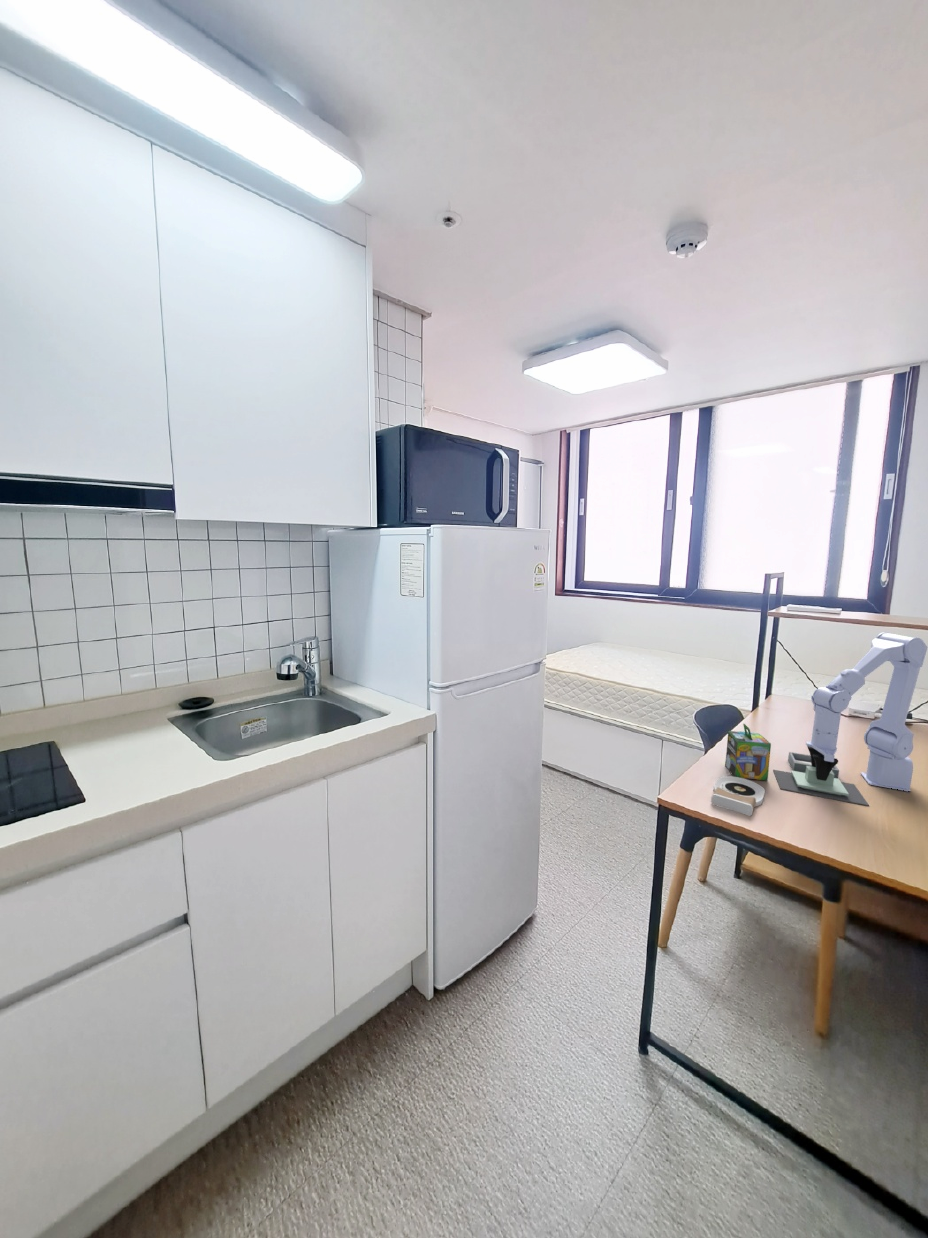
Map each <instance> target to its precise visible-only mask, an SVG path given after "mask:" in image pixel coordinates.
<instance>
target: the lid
mask: <svg viewBox="0 0 928 1238" xmlns="http://www.w3.org/2000/svg"><path fill="white" fill-rule="evenodd" d="M790 773H792V776H793V778H794V780H795V782H796V784H797V786H799V787H801V788H804V789H809V790H814V791H820V792H825V793H830V794H835V795H846V796H848V795H849V793H848V792H847V790H846V789H845V787H844V786H843V784H842V783H841V782H842V781H841V780H840V779H839V778H838V779H836V778H834V775H835V774H834V773H833V771H832V770H831V772H830V774H829V776H828V778H827V780H826V781H823V780H818V779H817V777H816V767H811V766H806V772H805V773H803V772H797V771H792V769H791V770H790Z"/></svg>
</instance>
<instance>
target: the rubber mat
mask: <svg viewBox="0 0 928 1238" xmlns="http://www.w3.org/2000/svg"><path fill="white" fill-rule="evenodd" d="M772 771H773V774H774V776H775V778H776V779H775V780H776V783H777V784H778V786H779V790H781V791H782V790H783V791H789V792H794V793H798V794H804V795H809V796H814V797H820V798H824V799H829V800H835V801H840V802H845V803H850V804H854V803H856V804H855V805H859V804H860V806H865V807H870V804H869V803H868V802H867V800H866V799H865V798H864V796H863V794H862V793H861V792H860V791H859V789H858V787H857V786H856V785H855V784H854V783H850V782H845V781H841V783H842V784H843V786H844V787H845V789H846V790H847V792H848V793H849V795H848V796H846V795H835V794H830V793H825V792H820V791H814V790H809V789H804V788H801V787H799V786H797V784H796V782H795V780H794V778H793V776H792V773H791V771H790V772H788V771H783V770H777V769H773V770H772Z"/></svg>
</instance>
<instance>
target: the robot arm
mask: <svg viewBox="0 0 928 1238" xmlns="http://www.w3.org/2000/svg"><path fill="white" fill-rule="evenodd" d="M927 650H928V645H927V644H926V643H925V641H924V640H923V639H922V638H920V637H913V636H907V635H901V634H895V633H890V632H886V631H884V632H881V633H879V634H877V636H876V637H875V638H874V639H872V640H871V646H870V649H869V651H868V652H867V653H866V654H865V655H864V656H863V657H862V658H861V659H860V660H859V661H858V662H857V663H856V665H854V667H853V668H852V669H850V668H849V669H843V670H842V671H841V672H840V673H839V674H837V676H835V678H834V679H833V680H831V681H830V682H829V683H828V684H827V685H826V686H821V687H819V688H817V689H815V690H814V692H813V694H812V695H811V697H810V699H811V703H812V704H813V710H814V719H813V726H812V733H811V739H810V741H806V742H805V745H806V747H807V749H808V752H809V755H810V756H811V764H812V767H816V777H817V779H818V780H823V781H826V780H827V778H828V776H829V774H830V772H831V770H832V768H833V767H834V766H835V765H837V764H838V763H839V760H838V758H836V757H835V754H836V753H837V751H838V750H837V749H838V748H837V745H838V744H837V743H838V737H839V729H840V723H841V716H842V712H844V711H845V710H846V709H848V706H849V704H850V701H851V700H852V697H853V696H854V694H856V693H857V692H858V691H859V690H860V689H861V688H862V687H864V685H866V679H865V678H866V677H867V676H869V675H870V674H872V672H874V671H876V670H877V669H878V668H879V667H881V665H883V664H884V663H886V662H890V664H892V666H893V671H892V674H891V677H890V682H889V684H888V685H889V687H888V689H887V693H886V696H885V701H884V705H883V708H882V711H881V715H880V718H878V719H875V720H873V721H871V722H869V726H868V728H867V729H866V731H865V732H864V734H863V742H864V744H865V745H866V746H867V749H868V750H869V753H868V754H869V755H868V761H867V767H866V772H863V771H861V772H860V775H861V776H862V777H863V779H864V780H865V782H866V783H867V784H868V785H869V786H876V787H881V788H886V789H887V788H888V789H891V788H892V789H893V790H897V789H898V791H903V790H904V792H908V791H911V792H912V790H911V783H912V780H913V773H914V772H913V771H914V762H913V760H912V759H911V757H909V756H911V754H912V753H913V750H914V742H913V739H914V733H913V732H912V731H911V730H910V729H909V728H908V726H907V725H906V721H907V717H908V714H909V710H910V706H911V702H912V699H913V696H914V693H915V688H916V686H917V681H918V678H919V675H920V670H921V668H922V667H923V665H924V663H925V662H924V661H925V658H926V654H927ZM892 789H891V790H892Z"/></svg>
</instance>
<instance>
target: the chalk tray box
mask: <svg viewBox="0 0 928 1238" xmlns="http://www.w3.org/2000/svg"><path fill="white" fill-rule="evenodd" d="M787 763H788V764H789V767H790V769H791V770H792V771H797V772H803V773H805V772H806V766H811V767H812V764H811V756H810V754H804V753H799V752H792V751H788V758H787ZM836 765H837V764H836ZM836 765H835V766H834V767H833V768H832V771H833V773H834V774H835V775H834V778H836V779H839V775H840V770H839V768H838V767H837V766H836Z"/></svg>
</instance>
